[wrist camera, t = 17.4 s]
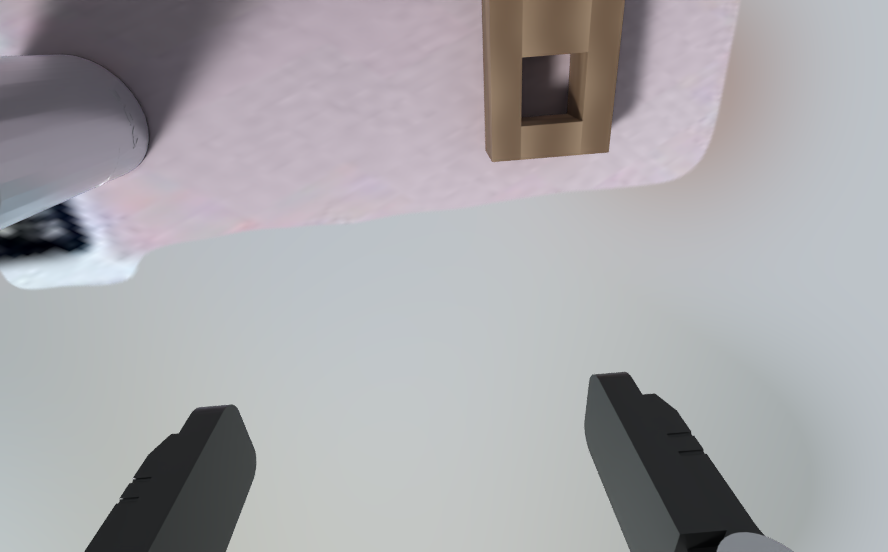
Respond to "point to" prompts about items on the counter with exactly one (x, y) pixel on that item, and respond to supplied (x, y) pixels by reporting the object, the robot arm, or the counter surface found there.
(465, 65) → the counter surface
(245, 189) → the counter surface
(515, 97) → the wooden block with holes
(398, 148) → the counter surface
